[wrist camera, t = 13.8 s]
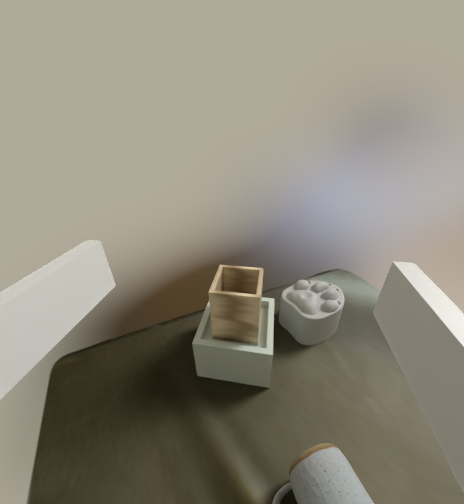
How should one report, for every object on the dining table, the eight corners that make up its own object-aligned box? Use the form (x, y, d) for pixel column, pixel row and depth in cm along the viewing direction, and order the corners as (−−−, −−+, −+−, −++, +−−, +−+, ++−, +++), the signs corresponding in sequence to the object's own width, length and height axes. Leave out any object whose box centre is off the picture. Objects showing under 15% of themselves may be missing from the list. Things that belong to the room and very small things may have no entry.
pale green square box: (271, 328, 48) (274, 298, 44) (269, 388, 37) (273, 355, 33) (214, 321, 50) (211, 291, 46) (196, 375, 39) (190, 343, 35)
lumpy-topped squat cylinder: (272, 316, 51) (275, 286, 47) (313, 297, 57) (319, 268, 52) (306, 351, 43) (313, 318, 39) (350, 324, 49) (360, 293, 44)
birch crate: (260, 311, 43) (263, 267, 38) (257, 345, 36) (260, 297, 31) (221, 307, 44) (219, 264, 39) (211, 338, 38) (207, 292, 33)
